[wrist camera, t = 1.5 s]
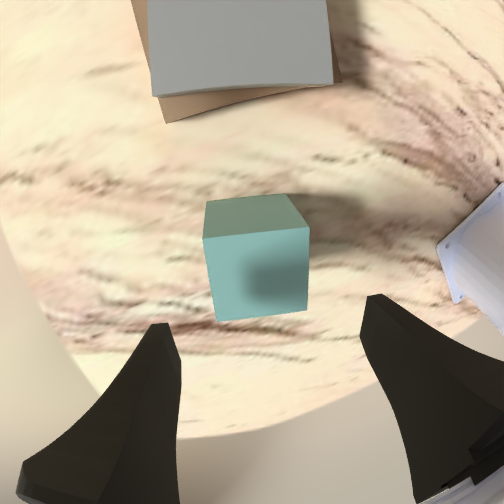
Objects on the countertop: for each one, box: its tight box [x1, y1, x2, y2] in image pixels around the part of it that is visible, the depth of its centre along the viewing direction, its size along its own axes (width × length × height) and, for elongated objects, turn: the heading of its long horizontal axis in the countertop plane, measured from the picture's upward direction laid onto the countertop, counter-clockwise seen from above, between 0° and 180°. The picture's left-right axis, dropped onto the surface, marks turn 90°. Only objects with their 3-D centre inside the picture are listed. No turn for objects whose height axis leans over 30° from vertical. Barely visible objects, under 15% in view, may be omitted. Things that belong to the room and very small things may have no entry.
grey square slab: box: [147, 0, 333, 98], centre depth 10 cm, size 8×8×2 cm
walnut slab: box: [131, 0, 342, 124], centre depth 12 cm, size 9×9×2 cm
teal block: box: [202, 194, 310, 322], centre depth 16 cm, size 4×4×5 cm
